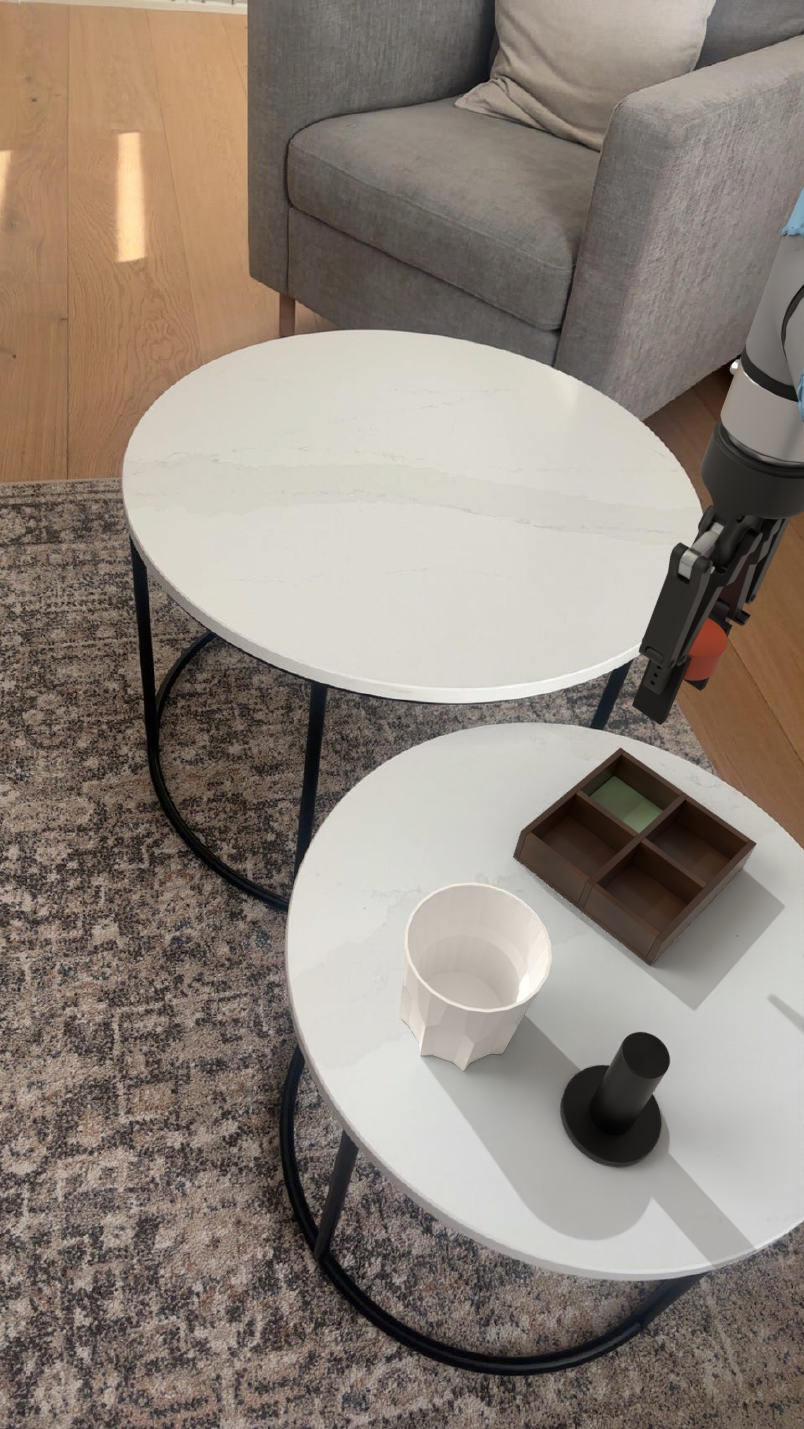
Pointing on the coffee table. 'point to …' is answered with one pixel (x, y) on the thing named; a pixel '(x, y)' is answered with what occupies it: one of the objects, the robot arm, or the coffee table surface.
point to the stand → (617, 1103)
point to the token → (706, 651)
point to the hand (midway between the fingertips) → (669, 695)
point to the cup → (471, 970)
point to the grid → (633, 853)
